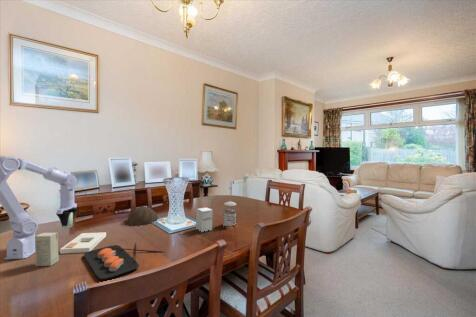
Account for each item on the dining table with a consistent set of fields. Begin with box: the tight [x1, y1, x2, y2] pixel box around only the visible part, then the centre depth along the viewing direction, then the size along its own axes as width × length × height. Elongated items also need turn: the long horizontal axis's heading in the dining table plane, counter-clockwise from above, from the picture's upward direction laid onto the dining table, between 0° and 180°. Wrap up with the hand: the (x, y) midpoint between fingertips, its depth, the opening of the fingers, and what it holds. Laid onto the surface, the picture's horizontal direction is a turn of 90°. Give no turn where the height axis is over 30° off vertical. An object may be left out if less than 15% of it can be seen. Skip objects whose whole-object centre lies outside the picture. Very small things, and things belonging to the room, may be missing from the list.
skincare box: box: [34, 232, 60, 267], centre depth 93 cm, size 6×4×12 cm
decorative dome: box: [126, 206, 159, 227], centre depth 150 cm, size 19×20×10 cm
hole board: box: [59, 232, 107, 255], centre depth 112 cm, size 20×12×2 cm, turn 11°
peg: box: [61, 212, 74, 229], centre depth 116 cm, size 4×4×7 cm
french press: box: [219, 186, 237, 226], centre depth 147 cm, size 10×12×25 cm
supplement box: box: [195, 207, 213, 233], centre depth 137 cm, size 7×7×13 cm
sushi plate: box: [83, 244, 164, 280], centre depth 100 cm, size 29×30×4 cm
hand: (67, 224), depth 116 cm, fingers closed on peg, 4 cm apart
